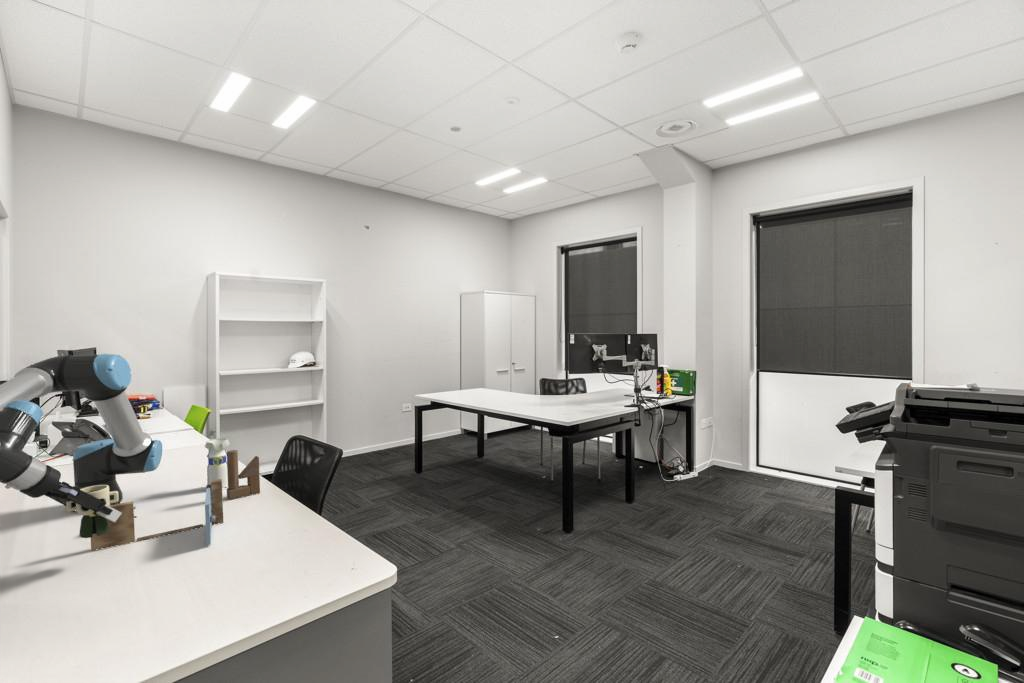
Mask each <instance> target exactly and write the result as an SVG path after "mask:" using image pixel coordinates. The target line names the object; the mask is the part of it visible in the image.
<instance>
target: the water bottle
mask: <svg viewBox="0 0 1024 683" xmlns="http://www.w3.org/2000/svg"><path fill="white" fill-rule="evenodd" d="M216 432H217V430H213V428H211V429H210V430H207V431H206V433H208V437H209V438H210V437H211V436H212V437H215V433H216ZM229 446H230V441H229V438H227V437H221V438H220V437H219V438H218V437H217V438H212V439H209V440H206V443H205V445H204V448H205V449H206V450H207V449H208V453H207V455H206V457H207V461H208V462H207V463H208V464H207V466H206V468H207V470H206V472H207V479H206V480H207V484H206V485H211V481H213V480H219V479H221V480H222V488H225V487H227V488H228V473H227V451H226V448H227V447H229ZM225 489H226V488H225Z"/></svg>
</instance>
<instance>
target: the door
mask: <svg viewBox="0 0 1024 683" xmlns="http://www.w3.org/2000/svg"><path fill="white" fill-rule="evenodd" d="M205 491H206V492H205V502H204V514H205V516H204V517H205V535H206V537H205V542H206V543H205V544H206V546H210V545H211V544H212V526H213V524H212V522H215V515H214V516H211V508H212V505H211V495H210V488H207V489H205Z"/></svg>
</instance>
